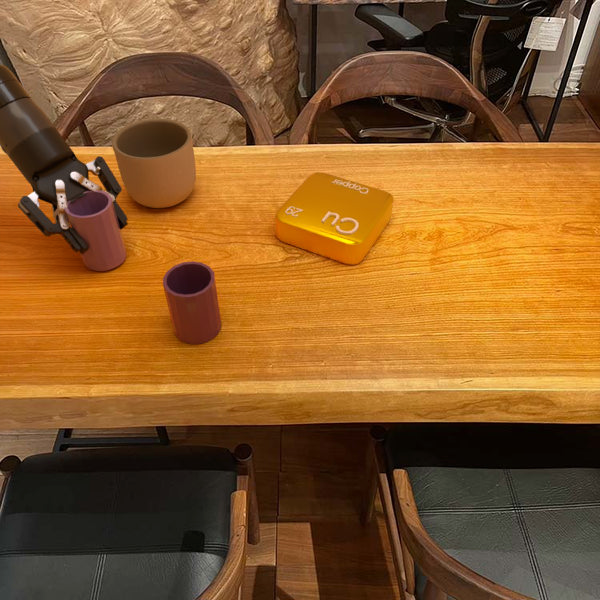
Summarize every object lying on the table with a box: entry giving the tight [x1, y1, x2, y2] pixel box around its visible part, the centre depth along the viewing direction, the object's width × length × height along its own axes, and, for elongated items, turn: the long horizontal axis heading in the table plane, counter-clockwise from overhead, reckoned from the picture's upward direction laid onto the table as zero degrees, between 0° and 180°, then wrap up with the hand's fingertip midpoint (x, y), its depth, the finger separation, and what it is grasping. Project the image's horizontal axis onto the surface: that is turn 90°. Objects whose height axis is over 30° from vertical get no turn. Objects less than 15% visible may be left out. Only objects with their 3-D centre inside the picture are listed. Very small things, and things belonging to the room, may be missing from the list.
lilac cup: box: [65, 190, 127, 272], centre depth 85 cm, size 6×6×10 cm
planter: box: [111, 117, 197, 209], centre depth 97 cm, size 12×12×11 cm
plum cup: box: [162, 261, 222, 345], centre depth 77 cm, size 6×6×9 cm
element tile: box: [274, 171, 394, 265], centre depth 93 cm, size 15×15×5 cm
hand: (105, 238), depth 85 cm, fingers closed on lilac cup, 6 cm apart
